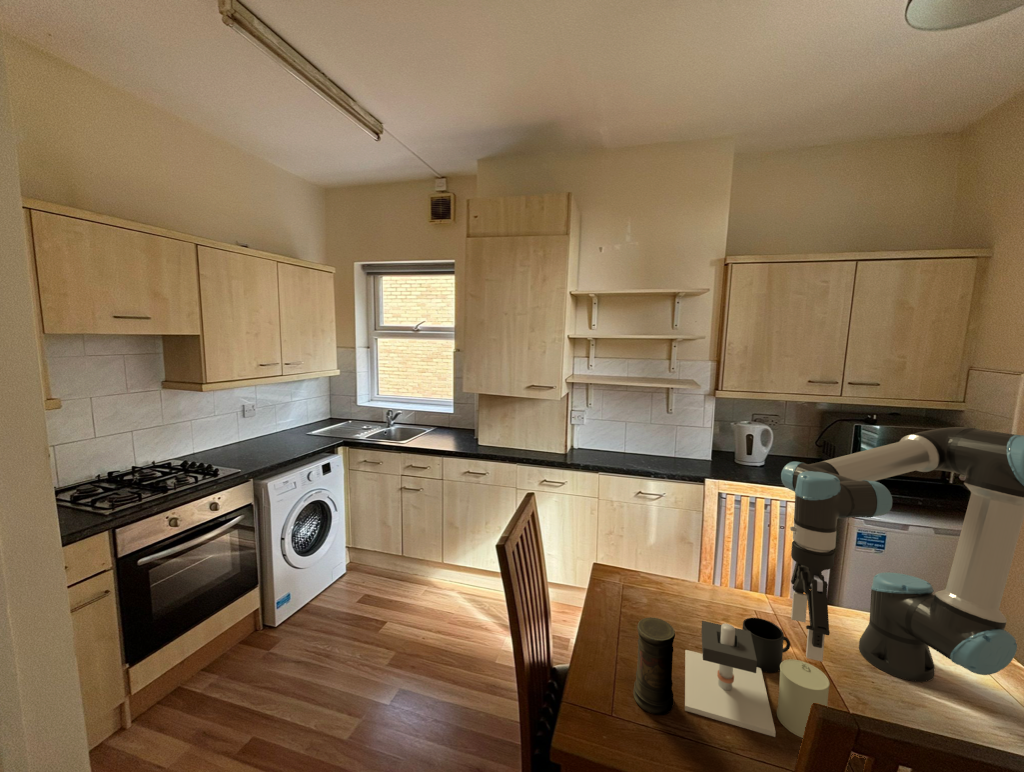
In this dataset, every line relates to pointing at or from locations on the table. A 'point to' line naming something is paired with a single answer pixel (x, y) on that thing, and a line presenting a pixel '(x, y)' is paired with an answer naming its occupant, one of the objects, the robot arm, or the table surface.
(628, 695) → the table surface
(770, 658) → the mug
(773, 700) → the table surface
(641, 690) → the container
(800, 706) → the can
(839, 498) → the robot arm
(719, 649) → the grey square plate
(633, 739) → the table surface
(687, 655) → the peg stand
